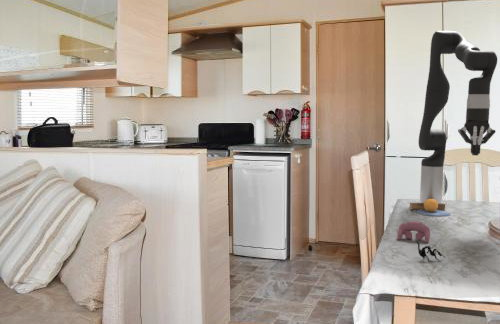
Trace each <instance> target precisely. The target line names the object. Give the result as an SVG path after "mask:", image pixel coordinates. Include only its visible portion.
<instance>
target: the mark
mask: <svg viewBox="0 0 500 324" xmlns="http://www.w3.org/2000/svg"><path fill="white" fill-rule="evenodd" d="M415 212H416V213H417V214H419V215H422V216H423V215H424V216H429V217H449V216H451V213H450V212H449V211H445V210H436V211H434V212H428V211H427V210H426V209H423V210H419V209H416V211H415Z"/></svg>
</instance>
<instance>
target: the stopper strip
mask: <svg viewBox="0 0 500 324" xmlns="http://www.w3.org/2000/svg"><path fill="white" fill-rule="evenodd" d="M409 209H410V210H423V209H425V208H424V203H420V202H409ZM437 210H441V211H445V210H446V203H443V202H442V203H438V208H437Z"/></svg>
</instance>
